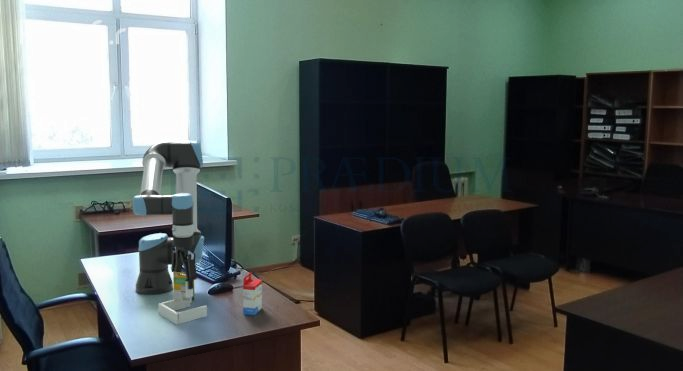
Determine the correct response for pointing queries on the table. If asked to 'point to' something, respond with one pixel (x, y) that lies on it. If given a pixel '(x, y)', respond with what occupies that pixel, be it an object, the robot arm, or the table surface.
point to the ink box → (252, 295)
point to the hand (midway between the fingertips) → (184, 293)
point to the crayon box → (181, 288)
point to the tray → (184, 316)
